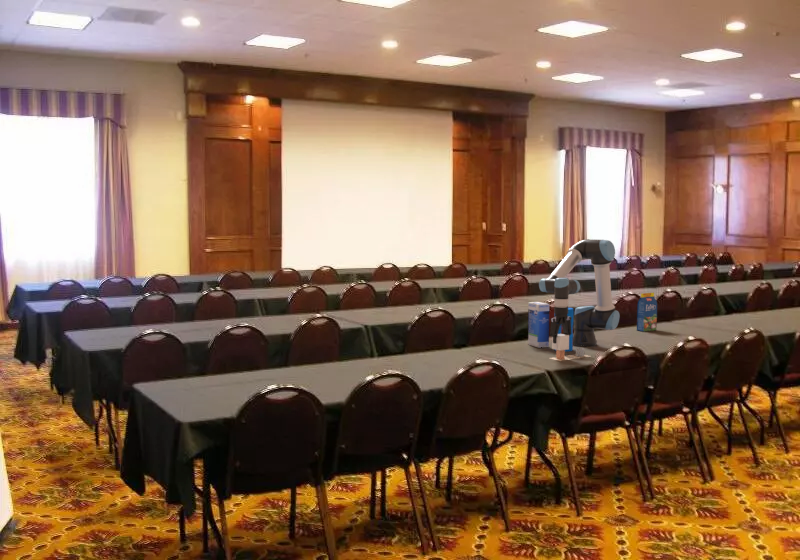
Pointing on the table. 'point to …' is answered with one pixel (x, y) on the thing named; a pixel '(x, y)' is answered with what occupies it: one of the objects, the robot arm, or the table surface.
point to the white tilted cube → (562, 342)
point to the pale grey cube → (580, 352)
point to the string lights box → (538, 324)
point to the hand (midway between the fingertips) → (560, 348)
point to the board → (569, 357)
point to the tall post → (560, 354)
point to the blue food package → (647, 312)
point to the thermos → (570, 314)
